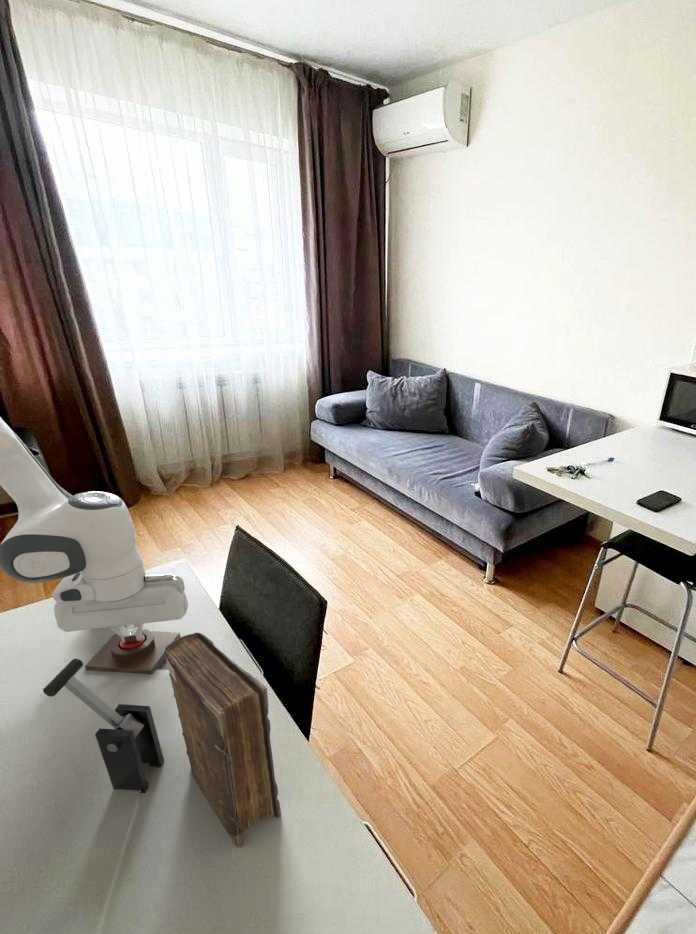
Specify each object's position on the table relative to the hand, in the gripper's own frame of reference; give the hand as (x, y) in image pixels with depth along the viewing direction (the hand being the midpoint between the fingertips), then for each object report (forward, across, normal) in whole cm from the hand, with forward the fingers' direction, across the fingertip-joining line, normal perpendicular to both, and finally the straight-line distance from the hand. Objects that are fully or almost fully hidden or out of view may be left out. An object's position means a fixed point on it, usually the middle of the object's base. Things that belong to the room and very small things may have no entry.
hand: (133, 639), depth 92 cm
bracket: (+4, -8, +27) cm, 29 cm away
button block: (+4, 0, 0) cm, 4 cm away
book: (+4, -21, +32) cm, 39 cm away
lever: (-10, -4, +26) cm, 28 cm away
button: (+2, 0, 0) cm, 2 cm away
